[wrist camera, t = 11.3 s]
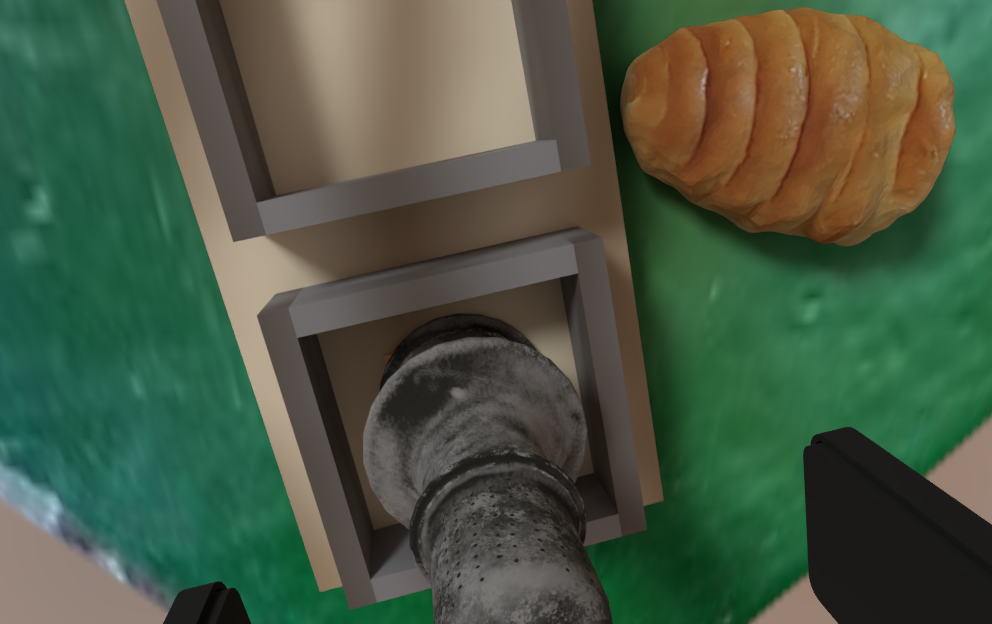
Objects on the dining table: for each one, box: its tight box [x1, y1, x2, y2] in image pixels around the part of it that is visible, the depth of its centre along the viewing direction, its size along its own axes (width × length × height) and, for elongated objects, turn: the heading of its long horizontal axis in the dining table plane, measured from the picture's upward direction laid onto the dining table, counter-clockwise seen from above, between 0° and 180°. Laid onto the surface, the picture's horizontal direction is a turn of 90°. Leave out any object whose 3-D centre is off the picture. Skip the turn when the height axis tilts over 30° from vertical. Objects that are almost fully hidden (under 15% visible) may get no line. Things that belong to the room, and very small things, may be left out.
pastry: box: [620, 7, 956, 246], centre depth 19 cm, size 9×7×4 cm
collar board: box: [125, 0, 664, 610], centre depth 18 cm, size 12×22×4 cm, turn 12°
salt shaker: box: [363, 314, 613, 624], centre depth 14 cm, size 6×6×12 cm
